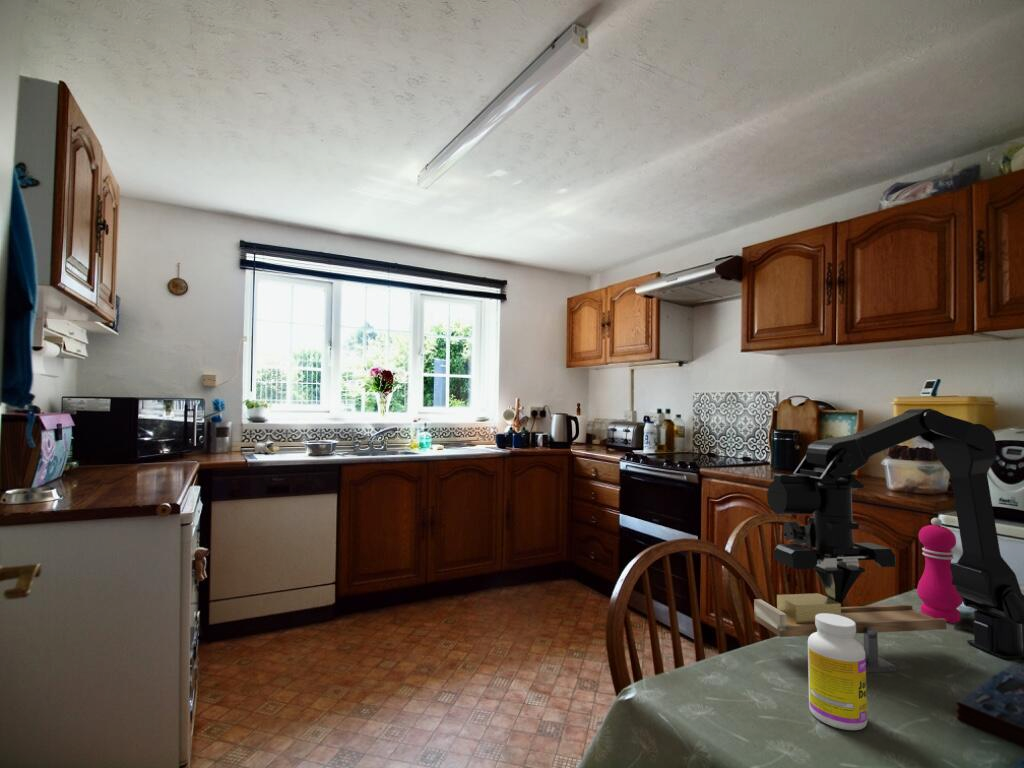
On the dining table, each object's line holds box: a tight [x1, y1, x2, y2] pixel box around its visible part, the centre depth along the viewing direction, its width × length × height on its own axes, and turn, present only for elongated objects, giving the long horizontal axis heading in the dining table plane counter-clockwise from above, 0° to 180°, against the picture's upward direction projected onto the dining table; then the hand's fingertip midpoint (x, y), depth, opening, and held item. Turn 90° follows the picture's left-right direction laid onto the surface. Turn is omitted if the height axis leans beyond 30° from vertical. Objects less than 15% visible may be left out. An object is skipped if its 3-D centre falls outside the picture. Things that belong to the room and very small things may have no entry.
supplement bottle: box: [807, 613, 868, 731], centre depth 70 cm, size 7×7×13 cm
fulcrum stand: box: [862, 627, 897, 674], centre depth 88 cm, size 6×12×6 cm, turn 7°
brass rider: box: [776, 593, 842, 625], centre depth 88 cm, size 8×5×4 cm, turn 97°
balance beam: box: [753, 598, 948, 638], centre depth 88 cm, size 30×7×4 cm, turn 97°
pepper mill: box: [916, 517, 963, 624], centre depth 106 cm, size 7×7×20 cm
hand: (835, 606), depth 88 cm, fingers closed
